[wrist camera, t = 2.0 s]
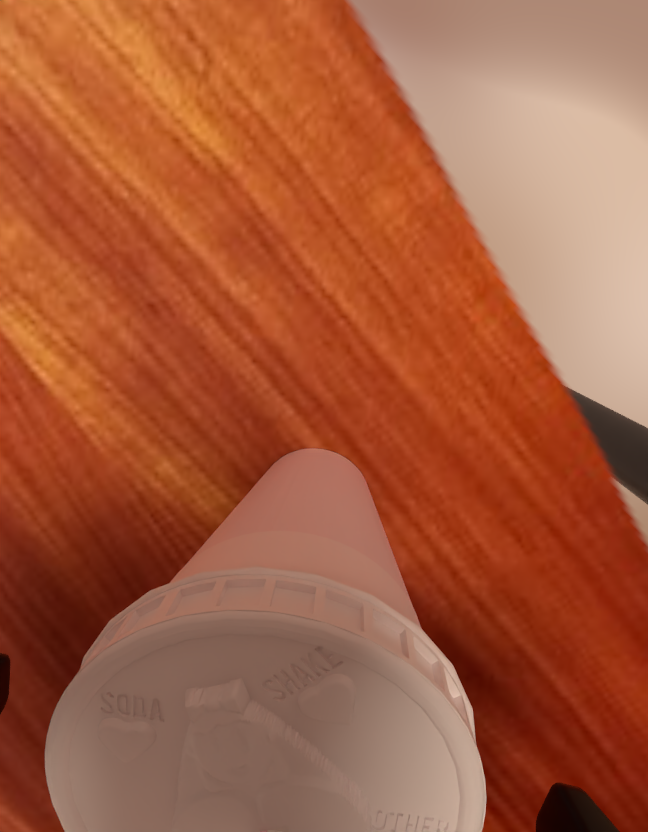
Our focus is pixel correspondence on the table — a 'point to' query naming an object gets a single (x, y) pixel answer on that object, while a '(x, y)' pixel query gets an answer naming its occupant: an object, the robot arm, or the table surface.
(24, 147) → the table surface
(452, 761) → the smoothie
